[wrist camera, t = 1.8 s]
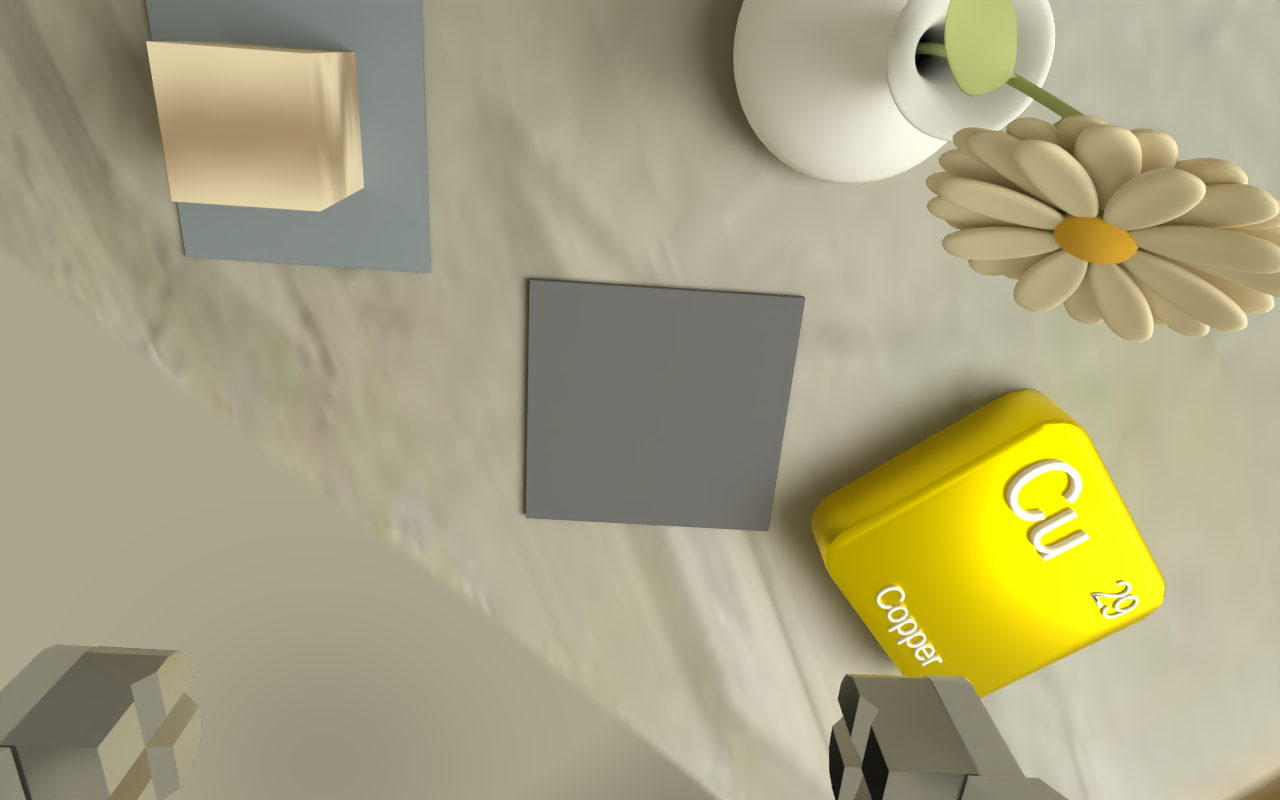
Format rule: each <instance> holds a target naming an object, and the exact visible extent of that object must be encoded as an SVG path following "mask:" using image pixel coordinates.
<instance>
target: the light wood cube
mask: <svg viewBox="0 0 1280 800" xmlns="http://www.w3.org/2000/svg"><path fill="white" fill-rule="evenodd" d="M146 44H147V50H148V56H149V62H150V69H151V75H152V81H153V87H154V94H155V100H156V106H157V112H158V118H159V125H160V131H161V137H162V143H163V150H164V156H165V162H166V168H167V175H168V181H169V187H170V193H171V200H172V201H174V202H189V203H203V204H218V205H232V206H247V207H262V208H276V209H291V210H305V211H322V210H324V209H326V208H328V207H330V206H331V205H333V204H335V203H337V202H339V201H341V200H342V199H344V198H346V197H348V196H350V195H352V194H353V193H355V192H357V191H359V190H361V189H363V188H364V178H363V163H362V148H361V132H360V117H359V102H358V86H357V71H356V56H355V52H350V51H337V50H324V49H311V48H297V47H284V46H271V45H258V44H245V43H232V42H203V41H146Z"/></svg>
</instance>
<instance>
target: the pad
mask: <svg viewBox="0 0 1280 800" xmlns="http://www.w3.org/2000/svg"><path fill="white" fill-rule="evenodd" d="M804 303H805V297H801V296H786V295H771V294H756V293H741V292H725V291H710V290H695V289H680V288H665V287H650V286H634V285H619V284H604V283H589V282H574V281H559V280H544V279H530V291H529V352H528V413H527V473H526V518H535V519H554V520H572V521H590V522H609V523H627V524H646V525H664V526H682V527H701V528H719V529H738V530H756V531H768V529H769V523H770V516H771V510H772V504H773V497H774V491H775V485H776V479H777V472H778V466H779V460H780V453H781V447H782V441H783V435H784V428H785V422H786V416H787V409H788V403H789V397H790V391H791V384H792V378H793V372H794V365H795V359H796V353H797V347H798V340H799V334H800V328H801V321H802V315H803V309H804Z"/></svg>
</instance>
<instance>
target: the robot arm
mask: <svg viewBox="0 0 1280 800" xmlns="http://www.w3.org/2000/svg"><path fill="white" fill-rule="evenodd" d="M193 678H194V677H193V672H192V668H191V664H190V660H189V656H188V655H186V654H184V653H182V652H180V651H173V650H157V649H139V648H122V647H105V646H98V647H91V646H74V645H54V646H52V647H49V648H46V649H44V650H42V651H41V652H40V653H39V654H38V655H37V656H36V657H35V658H34V659H33V660H32V661H31V662H30V663H29V664H28V665H27V666H26V667H25V668H24V669H23V670H22V671H21V672H20V673H19V674H18V675H17V676H16V677H15V678H14V679H12V680H11V681H10V683H8V685H6V686H5V687H4V688H3V690H2V691H0V800H163V799H165V798H166V797H168V796H169V795H171V794H172V793H173V792H175V791H177V790H178V789H180V788H181V786H182V784H183V783H184V781H185V780H186V778H187V776H188V774H189V773H190V771H191V769H192V768H193V765H194V762H195V759H196V755H197V752H198V749H199V746H200V742H201V727H202V721H201V715H200V709H199V706H198V705H197V704H196V703H195V702H194V701H193V700H192V699H191V698H190V697H189V696H188V695H187V694H186V693H185V692H184V691H185V689H186V687H187V686H188V685H189V684H190V682H191V681H192V679H193ZM838 702H839V705H840V708H841V711H842V714H843V717H842V718H841V719H840V720H839V721H838V722H837V723H836V724H835V725H834V726H832V732H831V738H830V744H829V772H830V779H831V785H832V790H833V793H834V797H835V800H1068V799H1067V798H1065V797H1064V796H1062V795H1061V794H1060V793H1058V792H1057V791H1055V790H1054V789H1053V788H1051V787H1050V786H1049V785H1047V784H1046V783H1044V782H1043V781H1042V780H1040V779H1039V778H1026V776H1025V775H1024V773H1023V771H1022V770H1021V768H1020V766H1019V764H1018V763H1017V761H1016V759H1015V758H1014V756H1013V754H1012V752H1011V751H1010V749H1009V747H1008V746H1007V744H1006V742H1005V740H1004V739H1003V737H1002V735H1001V733H1000V732H999V730H998V728H997V727H996V725H995V723H994V721H993V720H992V718H991V716H990V715H989V713H988V711H987V709H986V708H985V706H984V704H983V703H982V701H981V699H980V697H979V696H978V694H977V692H976V691H975V689H974V687H973V685H972V684H971V682H970V681H969V680H968V679H966V678H965V677H964V676H923V677H921V676H892V675H857V674H846V675H845V677H844V678H843V680H842V682H841V686H840V690H839V695H838Z"/></svg>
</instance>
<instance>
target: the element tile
mask: <svg viewBox="0 0 1280 800" xmlns="http://www.w3.org/2000/svg"><path fill="white" fill-rule="evenodd" d="M811 524H812V531H813V534H814V537H815V539H816V542H817V545H818V547H819V550H820V553H821V556H822V558H823V561H824V564H825V566H826V568H827V571H828V573H829V575H830V576H831V578H832V579H833V581H834V582H835V583H836V585H837V586H838V587H839V589H840V590H841V591H842V593H843V594H844V596H845V597H846V598H847V600H848V601H849V602H850V604H851V605H852V607H853V608H854V609H855V611H856V612H857V613H858V615H859V616H860V617H861V619H862V620H863V622H864V623H865V624H866V626H867V627H868V628H869V630H870V631H871V633H872V634H873V635H874V637H875V638H876V639H877V641H878V642H879V644H880V645H881V646H882V648H883V649H884V650H885V652H886V653H887V654H888V656H889V657H890V659H891V660H892V661H893V663H894V664H895V665H896V667H897V668H898V670H899V671H900V672H901V674H902V675H903V676H921V677H923V676H964V677H965V678H966V679H968V680H969V681H970V682H971V684H972V685H973V687H974V689H975V691H976V692H977V694H978V696H979V697H980V698H983V697H985V696H987V695H989V694H991V693H993V692H995V691H997V690H999V689H1001V688H1003V687H1005V686H1007V685H1009V684H1011V683H1013V682H1016V681H1018V680H1020V679H1022V678H1024V677H1026V676H1028V675H1030V674H1032V673H1034V672H1036V671H1038V670H1040V669H1042V668H1044V667H1046V666H1048V665H1051V664H1053V663H1055V662H1057V661H1059V660H1061V659H1063V658H1065V657H1067V656H1069V655H1071V654H1073V653H1075V652H1077V651H1079V650H1081V649H1083V648H1086V647H1088V646H1090V645H1092V644H1094V643H1096V642H1098V641H1100V640H1102V639H1104V638H1106V637H1108V636H1110V635H1112V634H1114V633H1116V632H1118V631H1121V630H1123V629H1125V628H1127V627H1129V626H1131V625H1133V624H1135V623H1137V622H1139V621H1141V620H1143V619H1145V618H1146V617H1147V616H1149V615H1150V614H1151V613H1152V612H1153V611H1155V610H1156V609H1157V608H1158V607H1159V606H1160V605H1161V604H1162V601H1163V598H1164V596H1165V582H1164V578H1163V575H1162V573H1161V572H1160V570H1159V568H1158V566H1157V564H1156V562H1155V560H1154V558H1153V556H1152V554H1151V552H1150V551H1149V549H1148V547H1147V545H1146V543H1145V541H1144V539H1143V537H1142V535H1141V533H1140V532H1139V530H1138V528H1137V526H1136V524H1135V522H1134V520H1133V518H1132V516H1131V514H1130V512H1129V511H1128V509H1127V507H1126V505H1125V503H1124V501H1123V499H1122V497H1121V495H1120V493H1119V492H1118V490H1117V488H1116V486H1115V484H1114V482H1113V480H1112V478H1111V476H1110V474H1109V472H1108V471H1107V469H1106V467H1105V465H1104V463H1103V461H1102V459H1101V457H1100V455H1099V453H1098V452H1097V450H1096V448H1095V446H1094V444H1093V442H1092V440H1091V438H1090V436H1089V434H1088V433H1087V432H1086V431H1085V429H1084V428H1083V427H1082V426H1081V425H1080V424H1079V423H1078V422H1077V421H1075V420H1074V419H1073V418H1072V417H1071V416H1070V415H1068V414H1067V413H1066V412H1065V411H1064V410H1062V409H1061V408H1060V407H1059V406H1058V405H1057V404H1055V403H1054V402H1053V401H1052V400H1051V399H1050V398H1048V397H1047V396H1045V395H1044V394H1042V393H1041V392H1039V391H1035V390H1029V389H1023V390H1018V391H1013V392H1010V393H1007V394H1004V395H1002V396H1000V397H999V398H997V399H995V400H994V401H992V402H990V403H988V404H987V405H985V406H983V407H981V408H980V409H978V410H976V411H974V412H973V413H971V414H969V415H967V416H966V417H964V418H962V419H960V420H959V421H957V422H955V423H953V424H952V425H950V426H948V427H946V428H945V429H943V430H941V431H940V432H938V433H936V434H934V435H933V436H931V437H929V438H927V439H926V440H924V441H922V442H920V443H919V444H917V445H915V446H913V447H912V448H910V449H908V450H906V451H905V452H903V453H901V454H899V455H898V456H896V457H894V458H892V459H891V460H889V461H887V462H885V463H884V464H882V465H880V466H879V467H877V468H875V469H873V470H872V471H870V472H868V473H866V474H865V475H863V476H861V477H859V478H858V479H856V480H854V481H852V482H851V483H849V484H847V485H845V486H844V487H842V488H840V489H838V490H837V491H835V492H833V493H831V494H830V495H829V496H827V497H826V498H825V499H823V500H822V501H821V502H820V504H819V505H818V506H817V507H816V509H815V510H814V512H813V515H812V519H811Z"/></svg>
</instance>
